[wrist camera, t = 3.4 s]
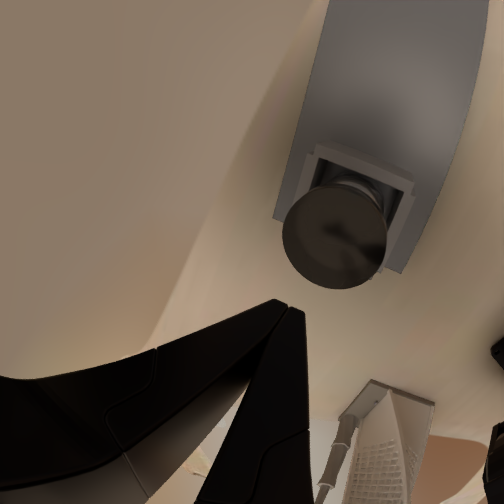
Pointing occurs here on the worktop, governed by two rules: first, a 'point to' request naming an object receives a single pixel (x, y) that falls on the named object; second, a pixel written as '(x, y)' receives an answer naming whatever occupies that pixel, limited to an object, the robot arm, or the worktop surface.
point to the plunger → (337, 231)
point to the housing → (388, 106)
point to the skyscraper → (380, 446)
